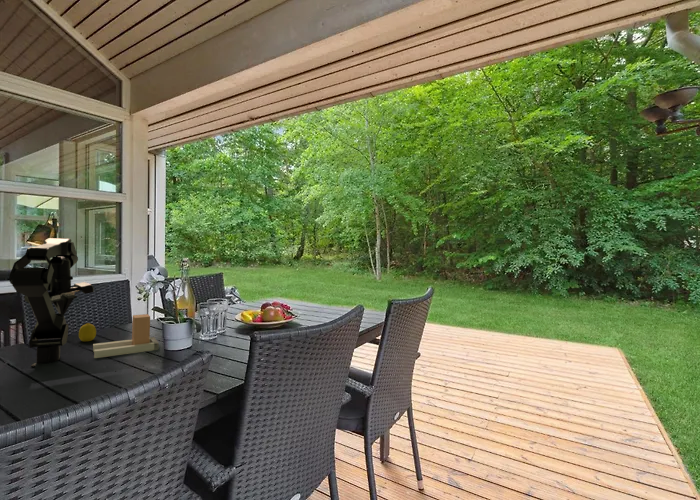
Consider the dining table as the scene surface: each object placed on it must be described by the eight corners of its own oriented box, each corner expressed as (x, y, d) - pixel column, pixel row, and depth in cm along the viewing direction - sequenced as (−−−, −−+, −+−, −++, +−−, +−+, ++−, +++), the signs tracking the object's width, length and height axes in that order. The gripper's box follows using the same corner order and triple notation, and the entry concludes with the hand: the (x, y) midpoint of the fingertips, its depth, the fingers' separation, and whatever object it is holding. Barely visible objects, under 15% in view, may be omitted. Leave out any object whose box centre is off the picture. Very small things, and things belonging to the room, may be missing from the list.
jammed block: (133, 350, 129) (134, 317, 129) (131, 347, 133) (132, 315, 133) (149, 348, 132) (150, 316, 132) (147, 345, 136) (147, 314, 136)
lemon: (88, 345, 136) (89, 324, 136) (74, 345, 137) (75, 324, 136) (99, 341, 142) (99, 321, 142) (85, 340, 142) (86, 320, 142)
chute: (94, 361, 120) (94, 351, 120) (92, 353, 128) (93, 344, 128) (158, 352, 132) (158, 343, 132) (153, 345, 140) (153, 336, 140)
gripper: (76, 264, 137) (77, 302, 140) (14, 273, 120) (17, 317, 123) (94, 270, 132) (95, 310, 135) (32, 281, 115) (34, 326, 118)
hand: (62, 315), depth 128 cm, fingers closed
